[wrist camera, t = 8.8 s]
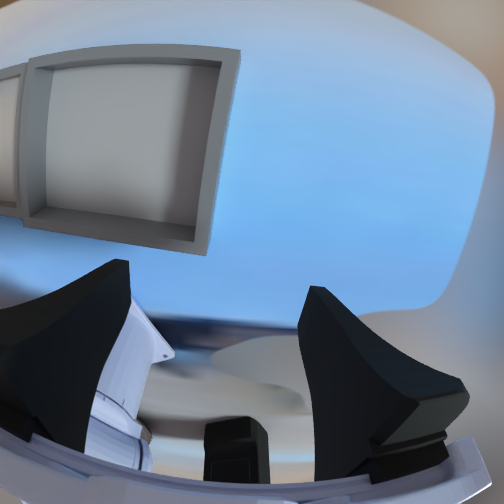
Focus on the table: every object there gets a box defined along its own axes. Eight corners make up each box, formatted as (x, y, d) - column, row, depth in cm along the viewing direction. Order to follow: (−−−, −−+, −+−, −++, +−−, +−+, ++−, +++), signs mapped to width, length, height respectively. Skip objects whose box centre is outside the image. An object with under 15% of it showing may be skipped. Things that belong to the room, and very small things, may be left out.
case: (240, 61, 15) (240, 49, 12) (211, 235, 20) (206, 256, 17) (54, 62, 14) (28, 58, 11) (45, 211, 19) (23, 226, 16)
